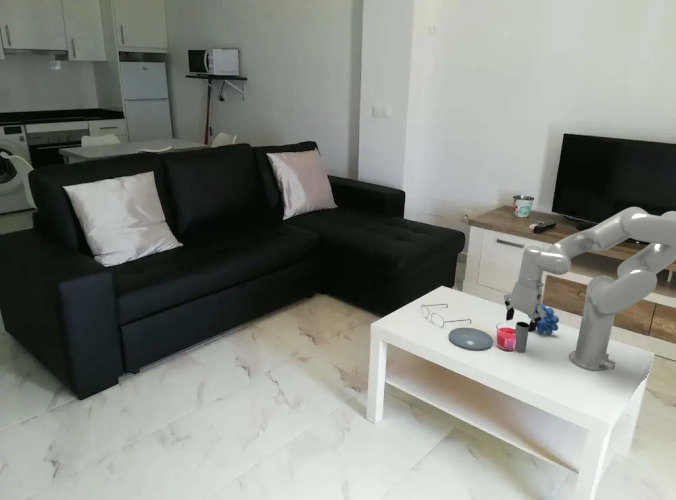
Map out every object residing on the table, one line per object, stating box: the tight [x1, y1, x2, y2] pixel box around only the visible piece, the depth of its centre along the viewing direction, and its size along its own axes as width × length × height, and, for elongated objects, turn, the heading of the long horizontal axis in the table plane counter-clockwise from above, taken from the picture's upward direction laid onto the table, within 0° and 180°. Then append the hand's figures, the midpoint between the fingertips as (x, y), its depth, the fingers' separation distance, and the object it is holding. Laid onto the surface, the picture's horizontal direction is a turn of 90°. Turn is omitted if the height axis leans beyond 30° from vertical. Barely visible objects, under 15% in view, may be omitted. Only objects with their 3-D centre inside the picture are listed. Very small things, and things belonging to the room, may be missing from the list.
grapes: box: [527, 303, 560, 336], centre depth 200 cm, size 12×7×12 cm, turn 58°
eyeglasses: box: [420, 303, 472, 329], centre depth 212 cm, size 16×15×5 cm
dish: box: [448, 326, 494, 352], centre depth 195 cm, size 16×16×1 cm
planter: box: [514, 321, 530, 354], centre depth 188 cm, size 4×4×10 cm
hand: (520, 325), depth 187 cm, fingers open, 9 cm apart
